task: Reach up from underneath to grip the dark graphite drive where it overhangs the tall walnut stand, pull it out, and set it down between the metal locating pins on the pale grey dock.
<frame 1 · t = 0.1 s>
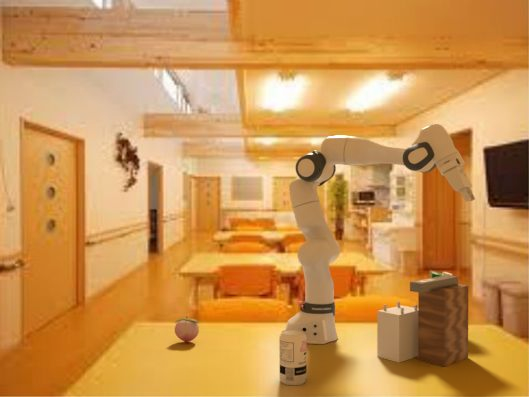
hand: (471, 200, 199), 54 cm above the table, tool tilted 30°, fingers open, 8 cm apart
drive: (434, 288, 194), point 25 cm above the table, touching stand
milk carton: (442, 334, 232), on the table
supplement can: (293, 382, 175), on the table
dock: (400, 355, 202), on the table
decorative fruit: (187, 342, 220), on the table
stand: (443, 358, 198), on the table
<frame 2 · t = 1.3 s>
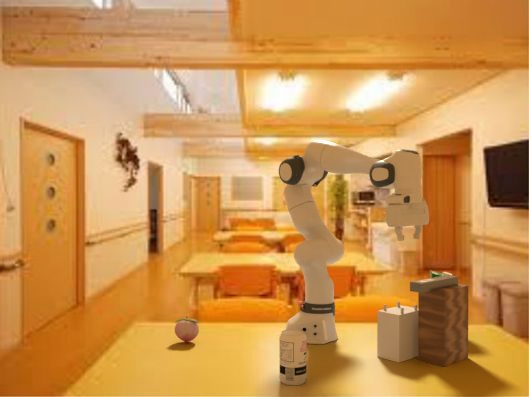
hand: (408, 239, 192), 41 cm above the table, tool pointing down, fingers open, 8 cm apart
nothing on the table moved.
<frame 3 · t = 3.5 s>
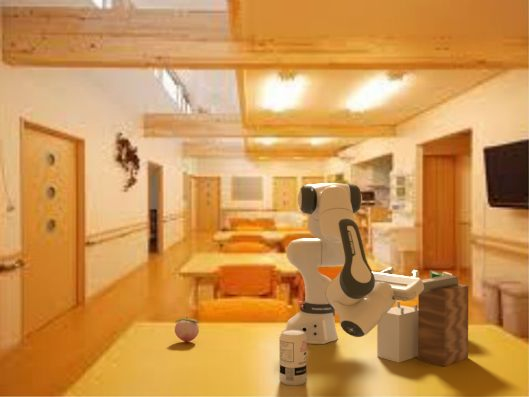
hand: (404, 270, 183), 33 cm above the table, tool pointing upward, fingers open, 8 cm apart
nothing on the table moved.
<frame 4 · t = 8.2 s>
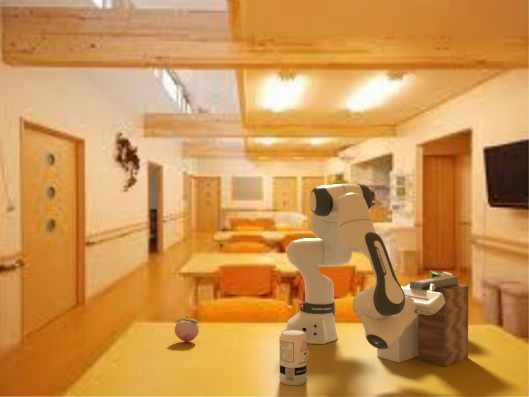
hand: (424, 284, 190), 27 cm above the table, tool pointing upward, fingers closed on drive, 4 cm apart
drive: (434, 288, 194), point 25 cm above the table, touching gripper, stand
everything else where it was.
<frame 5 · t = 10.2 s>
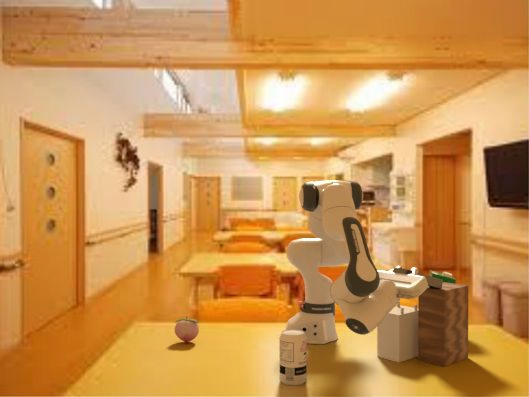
hand: (408, 268, 184), 33 cm above the table, tool pointing upward, fingers closed on drive, 4 cm apart
drive: (417, 282, 188), point 28 cm above the table, tilted 15°, touching gripper, stand
everything else where it was.
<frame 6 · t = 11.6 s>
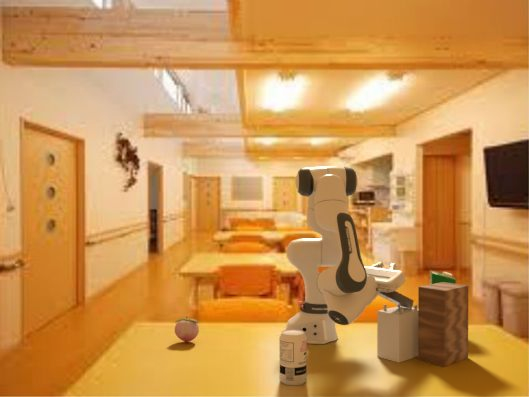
hand: (387, 264, 197), 33 cm above the table, tool pointing upward, fingers open, 4 cm apart
drive: (390, 299, 198), point 20 cm above the table, tilted 23°, touching arm
everything else where it was.
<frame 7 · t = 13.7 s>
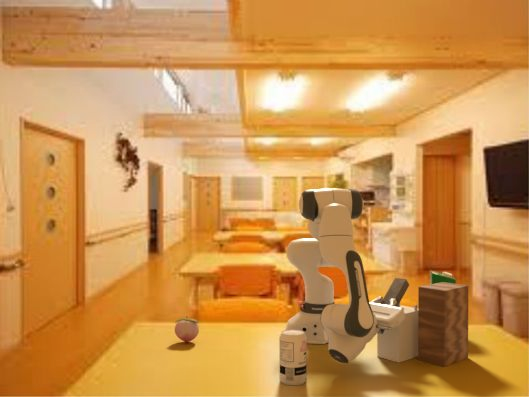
hand: (387, 298, 197), 21 cm above the table, tool pointing upward, fingers closed on drive, 4 cm apart
drive: (390, 308, 198), point 17 cm above the table, tilted 41°, touching arm, dock, gripper
everything else where it was.
when the fingers open (20 cm above the table, at t = 14.4 s): drive drops 1 cm, resting on dock.
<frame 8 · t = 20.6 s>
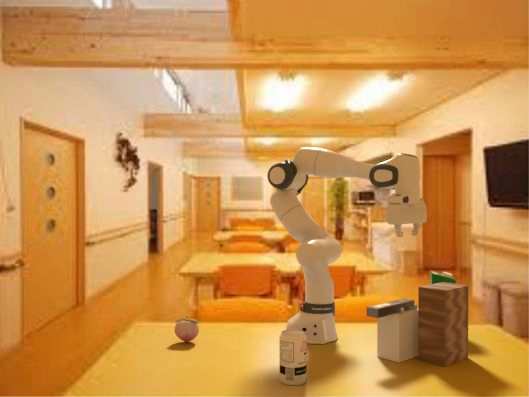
hand: (407, 236, 210), 41 cm above the table, tool pointing down, fingers open, 8 cm apart
drive: (391, 312, 199), point 16 cm above the table, touching dock
everything else where it was.
at the end: drive inside the target area on the dock (5.1 cm from its centre), point 16.0 cm above the dock's base; drive tilted 0°; the gripper is holding nothing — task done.
